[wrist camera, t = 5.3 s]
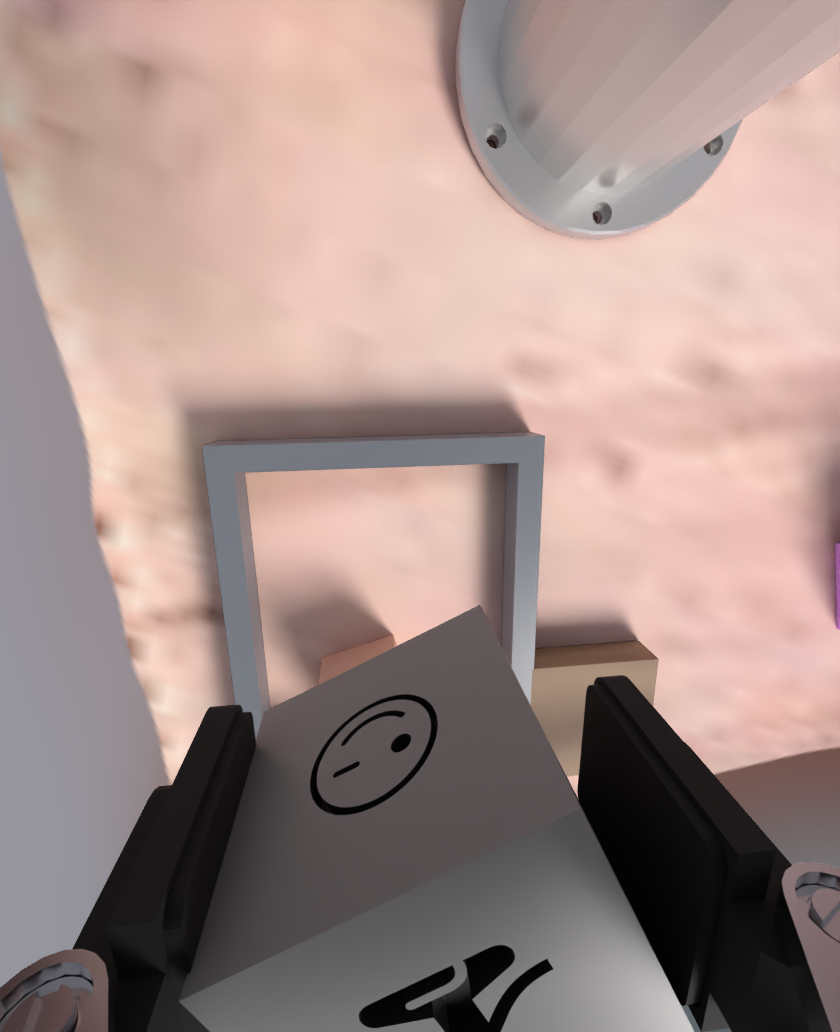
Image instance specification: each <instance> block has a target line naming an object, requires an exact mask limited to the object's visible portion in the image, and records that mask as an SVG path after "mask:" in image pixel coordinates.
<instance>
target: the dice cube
mask: <svg viewBox="0 0 840 1032" xmlns="http://www.w3.org/2000/svg"><path fill="white" fill-rule="evenodd" d="M179 1002H180V1003H181V1004H182V1005H183V1006H184V1007H185V1008H186V1009H187V1010H188V1011H189V1012H190V1013H191V1014H192V1015H193V1016H195V1017H196V1018H197V1019H198V1020H199V1021H200V1022H201V1023H202V1024H203V1025H204V1026H205V1027H206V1028H207V1029H208V1030H209V1031H210V1032H694V1030H693V1028H692V1026H691V1024H690V1022H689V1020H688V1018H687V1016H686V1014H685V1012H684V1010H683V1008H682V1006H681V1004H680V1003H679V1001H678V999H677V996H676V994H675V992H674V990H673V988H672V986H671V984H670V982H669V980H668V978H667V976H666V974H665V972H664V970H663V968H662V966H661V964H660V962H659V960H658V958H657V956H656V954H655V952H654V950H653V948H652V946H651V944H650V942H649V940H648V938H647V936H646V934H645V932H644V930H643V928H642V926H641V924H640V922H639V920H638V918H637V916H636V914H635V912H634V910H633V908H632V906H631V904H630V902H629V900H628V898H627V896H626V894H625V892H624V890H623V888H622V886H621V884H620V882H619V880H618V878H617V876H616V874H615V872H614V870H613V868H612V866H611V864H610V862H609V860H608V858H607V856H606V854H605V852H604V850H603V848H602V846H601V844H600V842H599V840H598V838H597V836H596V834H595V832H594V830H593V828H592V826H591V824H590V822H589V820H588V818H587V816H586V814H585V812H584V810H583V808H582V806H581V804H580V802H579V800H578V798H577V796H576V794H575V792H574V790H573V788H572V786H571V784H570V782H569V780H568V778H567V776H566V774H565V772H564V770H563V768H562V766H561V764H560V762H559V760H558V758H557V756H556V754H555V752H554V750H553V748H552V746H551V744H550V742H549V740H548V738H547V736H546V734H545V732H544V730H543V729H542V727H541V725H540V723H539V721H538V719H537V717H536V715H535V713H534V711H533V709H532V707H531V705H530V703H529V701H528V699H527V697H526V695H525V693H524V691H523V689H522V687H521V685H520V683H519V681H518V679H517V677H516V675H515V673H514V671H513V669H512V667H511V665H510V663H509V661H508V659H507V657H506V655H505V653H504V651H503V649H502V647H501V645H500V644H499V642H498V640H497V638H496V636H495V634H494V632H493V630H492V628H491V626H490V624H489V622H488V620H487V618H486V616H485V614H484V612H483V610H482V608H481V606H480V605H479V606H477V607H475V608H473V609H471V610H469V611H467V612H465V613H463V614H461V615H459V616H457V617H455V618H453V619H451V620H449V621H447V622H445V623H443V624H441V625H439V626H437V627H435V628H433V629H431V630H429V631H427V632H425V633H422V634H420V635H418V636H416V637H414V638H412V639H410V640H408V641H406V642H404V643H402V644H400V645H398V646H396V647H394V648H392V649H390V650H388V651H386V652H384V653H382V654H380V655H378V656H376V657H374V658H372V659H370V660H368V661H366V662H364V663H362V664H360V665H358V666H356V667H354V668H352V669H350V670H348V671H346V672H344V673H342V674H340V675H338V676H336V677H334V678H332V679H330V680H328V681H326V682H324V683H322V684H320V685H318V686H316V687H314V688H312V689H310V690H308V691H306V692H304V693H302V694H300V695H297V696H295V697H293V698H291V699H289V700H287V701H285V702H283V703H281V704H279V705H277V706H275V707H273V708H271V709H269V710H267V711H265V712H264V714H263V717H262V721H261V724H260V727H259V731H258V734H257V738H256V748H255V751H254V755H253V758H252V762H251V765H250V769H249V772H248V776H247V779H246V782H245V786H244V789H243V793H242V796H241V800H240V803H239V807H238V810H237V813H236V817H235V820H234V824H233V827H232V831H231V834H230V837H229V841H228V844H227V848H226V851H225V855H224V858H223V862H222V865H221V868H220V872H219V875H218V879H217V882H216V886H215V889H214V893H213V896H212V899H211V903H210V906H209V910H208V913H207V917H206V920H205V924H204V927H203V930H202V934H201V937H200V941H199V944H198V948H197V951H196V954H195V958H194V961H193V965H192V968H191V972H190V973H188V974H187V975H186V979H185V982H184V986H183V989H182V992H181V996H180V999H179Z"/></svg>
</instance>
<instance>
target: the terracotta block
mask: <svg viewBox="0 0 840 1032" xmlns="http://www.w3.org/2000/svg"><path fill="white" fill-rule="evenodd" d="M396 646H397V645H396V642H395V639H394V636H393V635H390V636H387V637H384V638H381V639H378V640H375V641H372V642H369V643H366V644H363V645H359V646H356V647H353V648H350V649H347V650H344V651H341V652H338V653H335V654H332V655H328V656H325V657H322V660H321V667H320V674H319V681H318V685H320V684H322V683H324V682H326V681H328V680H330V679H332V678H334V677H336V676H338V675H340V674H342V673H344V672H346V671H348V670H350V669H352V668H354V667H356V666H358V665H360V664H362V663H364V662H366V661H368V660H370V659H372V658H374V657H376V656H378V655H380V654H382V653H384V652H386V651H388V650H390V649H392V648H394V647H396Z"/></svg>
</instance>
